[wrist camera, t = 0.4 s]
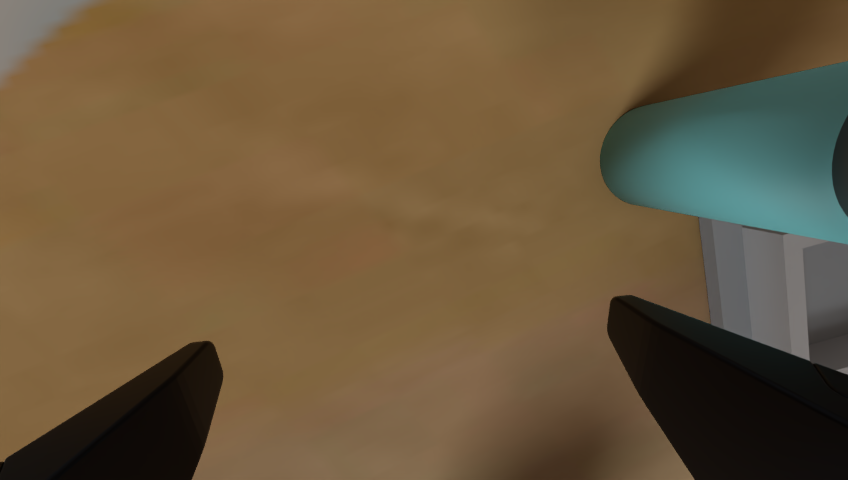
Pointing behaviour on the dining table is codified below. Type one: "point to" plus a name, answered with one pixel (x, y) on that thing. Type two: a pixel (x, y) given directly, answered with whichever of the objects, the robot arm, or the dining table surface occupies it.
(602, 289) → the dining table surface
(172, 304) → the dining table surface
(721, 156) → the teal flask
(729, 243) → the tray
